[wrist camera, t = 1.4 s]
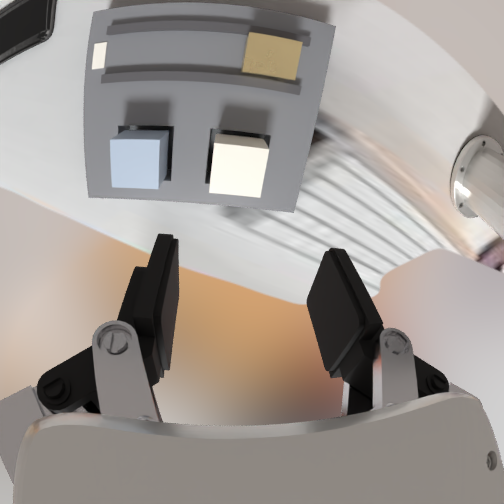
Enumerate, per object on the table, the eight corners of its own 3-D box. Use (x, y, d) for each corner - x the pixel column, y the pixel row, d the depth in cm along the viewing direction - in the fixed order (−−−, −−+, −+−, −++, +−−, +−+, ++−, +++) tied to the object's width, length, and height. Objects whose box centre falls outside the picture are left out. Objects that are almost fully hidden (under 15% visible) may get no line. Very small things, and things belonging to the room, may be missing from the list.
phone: (49, 37, 14) (-32, 84, 12) (55, 37, 15) (-27, 82, 13) (56, -23, 9) (-29, 32, 8) (61, -21, 10) (-24, 31, 9)
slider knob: (292, 46, 16) (302, 42, 14) (286, 79, 18) (295, 80, 16) (246, 38, 16) (249, 32, 13) (240, 72, 18) (242, 71, 15)
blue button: (169, 130, 21) (159, 139, 18) (167, 173, 23) (158, 189, 20) (125, 129, 20) (110, 139, 17) (125, 172, 22) (112, 187, 20)
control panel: (324, 30, 18) (338, 25, 15) (287, 199, 28) (295, 216, 25) (106, 16, 15) (90, 10, 12) (100, 185, 25) (85, 200, 22)
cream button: (263, 138, 22) (269, 149, 19) (256, 181, 24) (260, 197, 21) (216, 133, 21) (214, 143, 18) (211, 176, 24) (209, 192, 21)
